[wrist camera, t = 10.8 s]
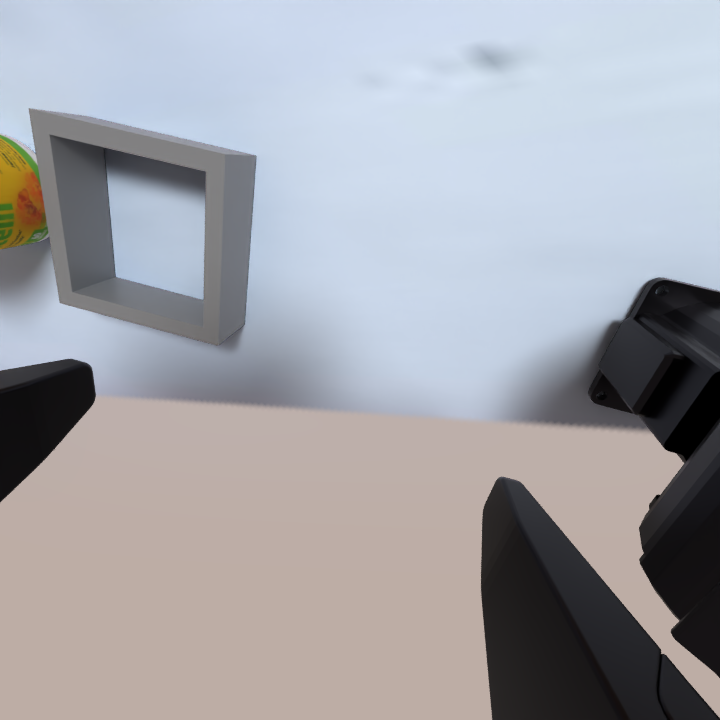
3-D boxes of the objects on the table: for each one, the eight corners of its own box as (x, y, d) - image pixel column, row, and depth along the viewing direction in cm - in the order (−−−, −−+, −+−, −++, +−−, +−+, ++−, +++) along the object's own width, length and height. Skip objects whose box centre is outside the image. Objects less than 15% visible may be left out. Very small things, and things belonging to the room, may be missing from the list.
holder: (256, 155, 19) (225, 154, 16) (244, 324, 23) (218, 345, 20) (85, 116, 19) (28, 108, 17) (103, 287, 23) (59, 302, 20)
